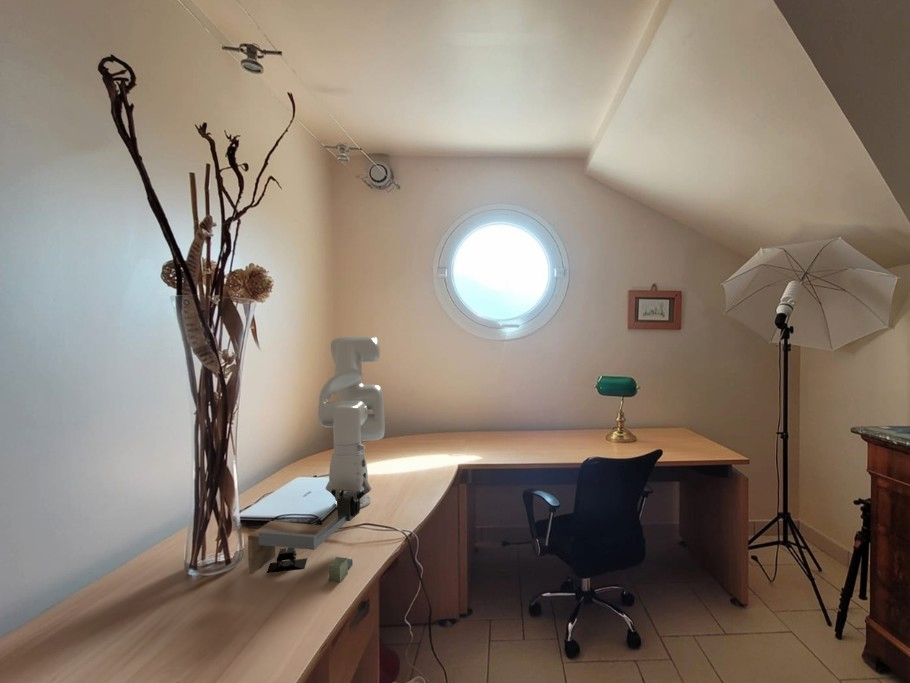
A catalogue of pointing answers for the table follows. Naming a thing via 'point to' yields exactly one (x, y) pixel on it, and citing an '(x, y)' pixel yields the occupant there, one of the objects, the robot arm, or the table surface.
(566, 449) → the table surface
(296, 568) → the black phone stand
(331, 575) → the pale green block
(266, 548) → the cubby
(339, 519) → the grey angular bent frame
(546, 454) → the table surface
